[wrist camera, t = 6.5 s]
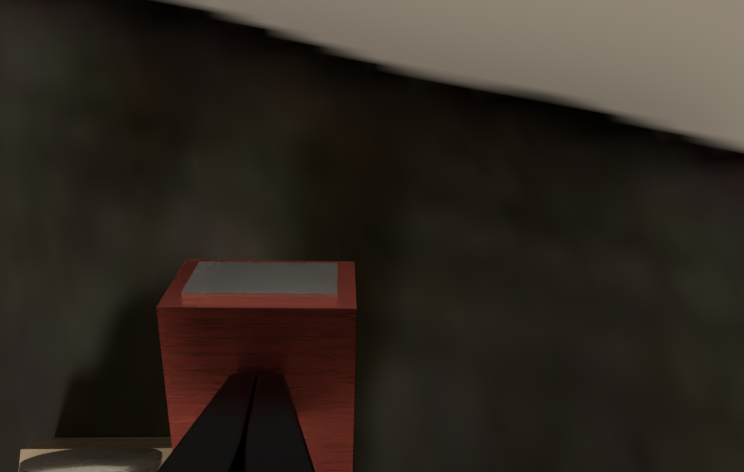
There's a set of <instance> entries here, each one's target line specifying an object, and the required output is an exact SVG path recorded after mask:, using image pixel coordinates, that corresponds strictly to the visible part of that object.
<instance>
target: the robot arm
mask: <svg viewBox="0 0 744 472" xmlns="http://www.w3.org/2000/svg"><path fill="white" fill-rule="evenodd" d="M157 472H315V469H314V466H313V463H312V460H311V457H310V454H309V450H308V447H307V444H306V441H305V438H304V435H303V432H302V428H301V425H300V422H299V419H298V416H297V413H296V410H295V406H294V403H293V400H292V397H291V394H290V391H289V388H288V385H287V381H286V378H285V376H284V375H283V374H282V373H261V374H259V376H257V375H256V374H254V373H233V374H231V375H230V376H229V377H228V378H227V379H226V381H225V382H224V383H223V385H222V386H221V387H220V389H219V390H218V391H217V393H216V394H215V395H214V397H213V398H212V399H211V401H210V402H209V403H208V405H207V406H206V407H205V409H204V410H203V411H202V413H201V414H200V415H199V417H198V418H197V419H196V421H195V422H194V423H193V424H192V426H191V427H190V428H189V430H188V431H187V432H186V434H185V435H184V436H183V438H182V439H181V440H180V442H179V443H178V444H177V446H176V447H175V448H174V450H173V451H172V452H171V454H170V455H169V456H168V458H167V459H166V460H165V462H164V463H163V464H162V466H161V467H160V468H159V470H158V471H157Z"/></svg>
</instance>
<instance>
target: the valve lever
mask: <svg viewBox="0 0 744 472" xmlns="http://www.w3.org/2000/svg"><path fill="white" fill-rule="evenodd" d="M156 309H157V318H158V327H159V336H160V344H161V353H162V362H163V371H164V380H165V389H166V398H167V406H168V415H169V424H170V433H171V442H172V451H173V450H174V448H175V447H176V446H177V444H178V443H179V442H180V440H181V439H182V438H183V436H184V435H185V434H186V432H187V431H188V430H189V428H190V427H191V426H192V424H193V423H194V422H195V421H196V419H197V418H198V417H199V415H200V414H201V413H202V411H203V410H204V409H205V407H206V406H207V405H208V403H209V402H210V401H211V399H212V398H213V397H214V395H215V394H216V393H217V391H218V390H219V389H220V387H221V386H222V385H223V383H224V382H225V381H226V379H227V378H228V377H229V376H230V375H231V374H233V373H254V374H256V375H257V376H259V374H261V373H282V374H283V375H284V376H285V378H286V381H287V385H288V388H289V391H290V394H291V397H292V400H293V403H294V406H295V410H296V413H297V416H298V419H299V422H300V425H301V428H302V432H303V435H304V438H305V441H306V444H307V447H308V450H309V454H310V457H311V460H312V463H313V466H314V469H315V472H353V434H354V394H355V354H356V314H357V306H356V284H355V262H353V261H260V260H186V261H185V263H184V264H183V266H182V268H181V269H180V271H179V272H178V274H177V275H176V277H175V279H174V280H173V282H172V283H171V285H170V287H169V288H168V290H167V291H166V293H165V294H164V296H163V298H162V299H161V301H160V302H159V304H158V305H157V307H156Z"/></svg>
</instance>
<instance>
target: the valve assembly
mask: <svg viewBox="0 0 744 472" xmlns="http://www.w3.org/2000/svg"><path fill="white" fill-rule="evenodd" d="M171 452H172V442H171V437H79V438H51V439H48V440H45V441H43V442H40V443H37V444H34V445H31V446H29V447H26V448H23V449H21V453H20V463H19V472H157V471H158V470H159V468H160V467H161V466H162V464H163V463H164V462H165V460H166V459H167V458H168V456H169V455H170V454H171Z"/></svg>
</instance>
